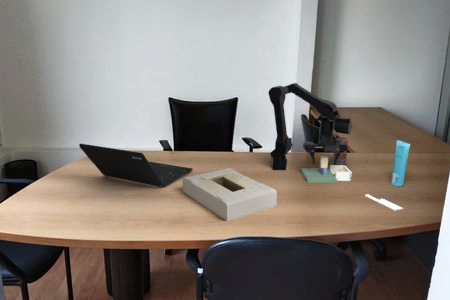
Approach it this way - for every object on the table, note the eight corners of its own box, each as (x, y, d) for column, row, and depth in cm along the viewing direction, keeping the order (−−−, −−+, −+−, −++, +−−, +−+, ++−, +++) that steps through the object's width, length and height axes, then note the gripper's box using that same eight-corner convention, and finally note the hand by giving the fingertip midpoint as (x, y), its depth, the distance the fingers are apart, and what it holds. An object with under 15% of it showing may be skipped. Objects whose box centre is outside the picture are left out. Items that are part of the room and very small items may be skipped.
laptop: (193, 172, 182) (193, 132, 176) (144, 201, 149) (142, 153, 144) (137, 162, 196) (135, 124, 190) (81, 186, 163) (76, 142, 158)
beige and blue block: (321, 175, 173) (323, 159, 170) (317, 170, 179) (319, 154, 177) (327, 175, 173) (329, 159, 170) (323, 170, 179) (325, 154, 177)
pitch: (307, 182, 169) (307, 177, 168) (300, 171, 183) (301, 166, 183) (337, 182, 169) (337, 177, 169) (327, 171, 184) (328, 166, 183)
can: (346, 168, 188) (349, 140, 184) (333, 167, 190) (335, 139, 186) (345, 164, 194) (348, 137, 190) (332, 163, 195) (334, 136, 191)
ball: (347, 177, 175) (339, 178, 175) (344, 174, 178) (337, 176, 178) (346, 170, 174) (338, 171, 174) (344, 167, 177) (336, 168, 177)
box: (181, 193, 158) (227, 223, 133) (181, 175, 156) (227, 202, 130) (228, 183, 171) (277, 208, 146) (228, 166, 169) (278, 188, 143)
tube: (408, 186, 166) (414, 143, 160) (400, 188, 164) (406, 144, 158) (394, 180, 172) (399, 139, 167) (386, 182, 170) (392, 140, 165)
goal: (335, 180, 172) (336, 172, 171) (329, 173, 181) (330, 165, 180) (351, 180, 172) (351, 172, 171) (344, 173, 181) (344, 165, 180)
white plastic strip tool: (374, 194, 158) (374, 192, 157) (404, 209, 145) (404, 206, 144) (364, 196, 156) (365, 194, 155) (394, 211, 143) (395, 208, 142)
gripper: (309, 135, 162) (306, 170, 167) (353, 135, 163) (349, 170, 167) (303, 129, 173) (301, 162, 178) (345, 129, 173) (342, 162, 178)
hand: (323, 164), depth 175 cm, fingers open, 9 cm apart
